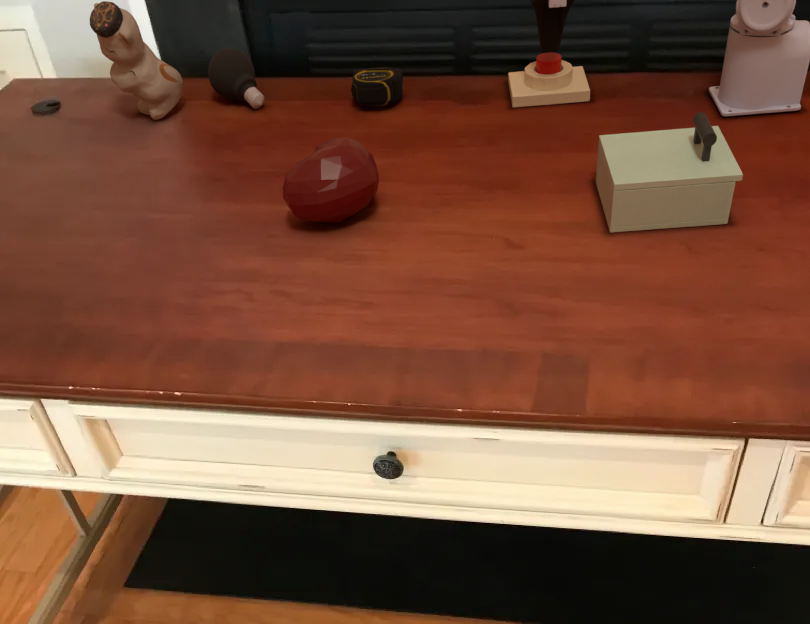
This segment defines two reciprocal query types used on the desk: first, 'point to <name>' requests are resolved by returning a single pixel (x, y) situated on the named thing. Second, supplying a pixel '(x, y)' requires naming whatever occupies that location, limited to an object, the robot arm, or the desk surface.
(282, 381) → the desk surface
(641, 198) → the box
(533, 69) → the control block
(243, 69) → the dark brown bulb-shaped piece
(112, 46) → the figurine
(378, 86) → the tape measure
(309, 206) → the heart
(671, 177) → the freezer lid
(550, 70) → the power button
